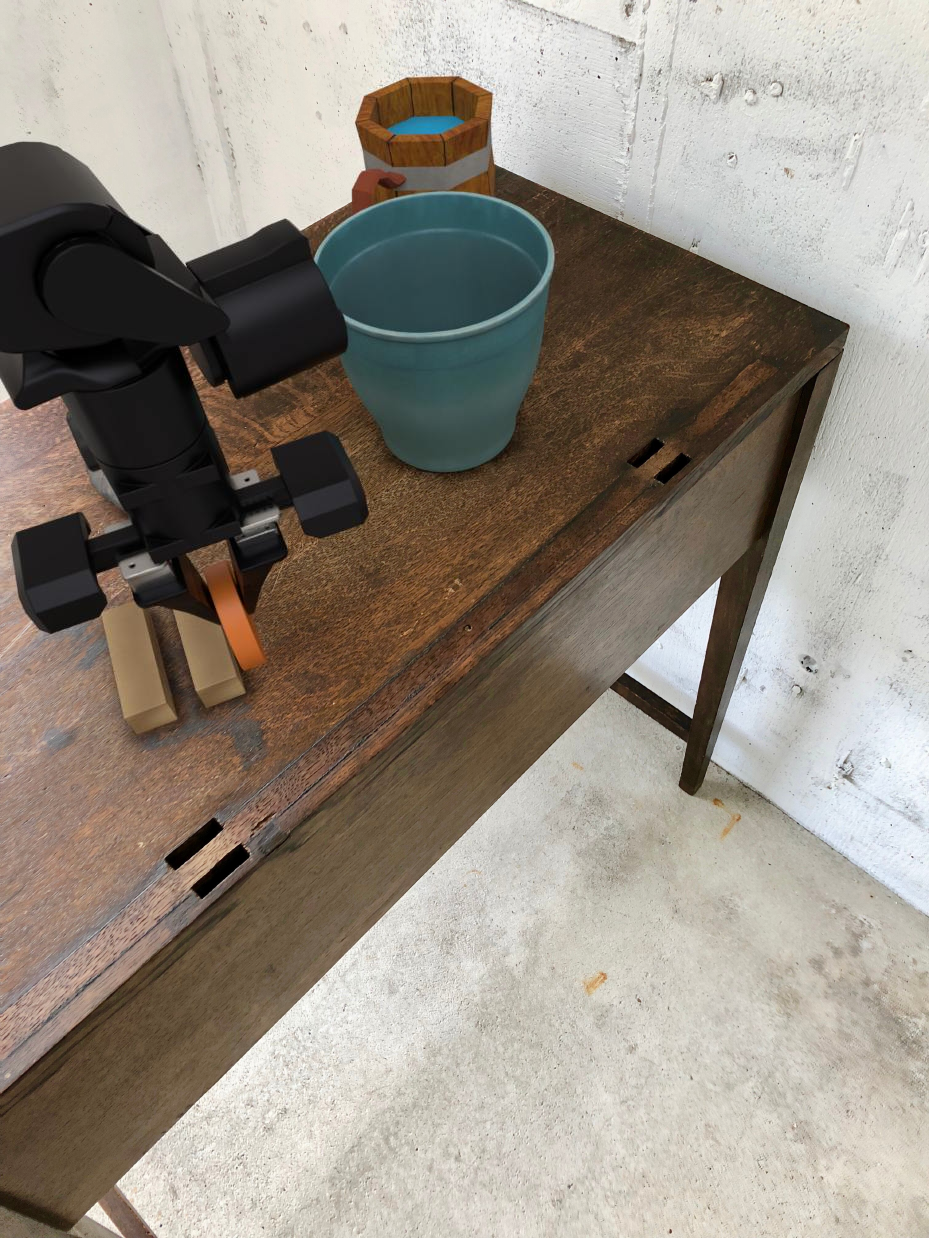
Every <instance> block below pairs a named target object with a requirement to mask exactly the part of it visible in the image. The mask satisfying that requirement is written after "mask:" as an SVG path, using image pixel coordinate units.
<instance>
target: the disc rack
mask: <svg viewBox="0 0 929 1238" xmlns="http://www.w3.org/2000/svg"><path fill="white" fill-rule="evenodd" d="M202 578H203V579H204V581H205V582H206V584H207V581H206V578H205V575H203V576H202ZM172 611H173V615H174V618H175V622H176V626H177V629H178V633H179V636H180V640H181V644H182V647H183V651H184V654H185V658H186V662H187V665H188V668H189V673H190V676H191V679H192V682H193V686H194V689H195V692H196V694H197V695H198V697H199V699H200V700H201V702H202V704H203V705H204V707H205V708H206V709H208V708H211V707H214V706H216V705H219V704H222V703H224V702H227V701H229V700H232V699H234V698H237V697H239V696H242V695H245V694H246V693H247V692H246V688H245V684H244V681H243V679H242V675H241V673H240V670H239V666H238V663H237V661H236V660H237V659H236V656H235V654H234V652H233V650H232V648H231V645H230V643H229V641H228V638H227V636H226V634H225V631H224V629H223V626H222V625H221V626H219V625H217V624H214V623H212V622H209V621H207V620H204V619H202V618H199V617H197V616H194V615H191V614H189V613H185V612H182V611H177V610H173V609H172ZM100 616H101V619H102V624H103V629H104V633H105V637H106V642H107V646H108V652H109V656H110V661H111V665H112V669H113V674H114V679H115V683H116V688H117V693H118V698H119V702H120V706H121V711H122V716H123V719H124V721H126V723H127V724H128V725H129V727H130V728H131V729H132V731H134V733H135V734H136V735H137V736H138V735H141V734H143V733H146V732H150V731H151V730H154V729H157V728H159V727H162V726H164V725H167V724H169V723H172V722H174V721H177V720H178V719H179V718H178V714H177V709H176V706H175V701H174V699H173V694H172V691H171V687H170V683H169V680H168V675H167V673H166V668H165V664H164V660H163V657H162V656H163V655H162V652H161V648H160V645H159V640H158V637H157V633H156V630H155V626H154V622H153V618H152V615H151V614H150V613H149V611H148V610H147V609H142V608H140V607H138V606H137V605H136V603H135V602H134V600H132V601H129V602H126V603H124V604H121V605H117V606H115V607H112V608H110V609H106V610H103V612H102V614H101V615H100Z"/></svg>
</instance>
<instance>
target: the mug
mask: <svg viewBox="0 0 929 1238" xmlns="http://www.w3.org/2000/svg"><path fill="white" fill-rule="evenodd" d="M493 97H494V94H493V92H491V91H489V90H487V89H485V88H483V87H481V86H479V85H478V84H476V83H474V82H472V81H470V80H467V79H465V78H463V77H462V76H459V75H451V76H450V75H449V76H446V75H445V76H417V77H416V76H410V77H404V78H402V79H399V80H397V81H395V82H393V83H390V84H389V85H386V86H384V87H381V88H379V89H377V90H374V91H372V92H370V93H367V94H365V95H363V98H362V101H361V104H360V107H359V110H358V112H357V115H356V118H355V120H354V125H355V128H356V131H357V135H358V140H359V142H360V146H361V150H362V157H363V161H364V162H363V163H364V170H362V171H360V173H359V174H358V176H357V178H356V180H355V182H354V185H353V187H352V188H351V212H352V213H351V214H352V215H351V216H353V215H355V214H356V213H358V212H360V211H362V210H364V209H366V208H369V207H371V206H373V205H376V204H378V203H381V202H384V201H387V200H390V199H394V198H397V197H401V196H406V195H412V194H418V193H426V192H439V191H454V192H468V193H476V194H481V195H486V196H490V197H494V198H495V188H496V167H495V158H494V157H495V156H494V149H493V139H492V138H493V137H492V111H493Z"/></svg>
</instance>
